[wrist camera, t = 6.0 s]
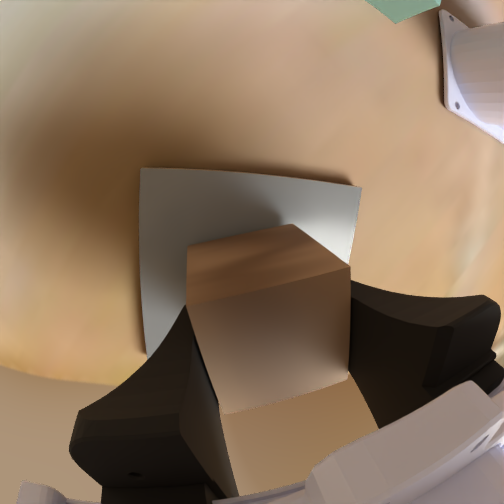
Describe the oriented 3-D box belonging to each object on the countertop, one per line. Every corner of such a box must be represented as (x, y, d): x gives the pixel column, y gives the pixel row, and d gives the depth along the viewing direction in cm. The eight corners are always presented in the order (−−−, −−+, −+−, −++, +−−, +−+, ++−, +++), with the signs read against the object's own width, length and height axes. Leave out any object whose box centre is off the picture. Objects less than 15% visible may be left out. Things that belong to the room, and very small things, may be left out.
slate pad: (353, 185, 14) (361, 187, 13) (318, 351, 17) (323, 359, 16) (143, 167, 12) (140, 168, 11) (149, 356, 15) (148, 366, 14)
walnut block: (292, 223, 12) (350, 266, 8) (301, 312, 14) (347, 379, 9) (187, 245, 12) (186, 306, 7) (211, 334, 13) (223, 414, 9)
